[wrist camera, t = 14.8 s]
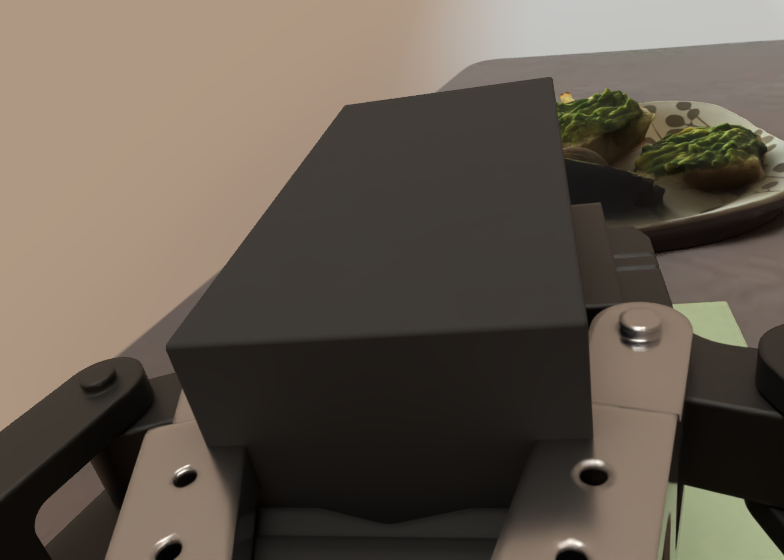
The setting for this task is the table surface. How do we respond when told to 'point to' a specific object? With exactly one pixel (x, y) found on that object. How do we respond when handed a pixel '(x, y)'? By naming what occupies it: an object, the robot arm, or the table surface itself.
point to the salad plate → (670, 167)
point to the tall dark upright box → (402, 312)
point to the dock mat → (710, 509)
